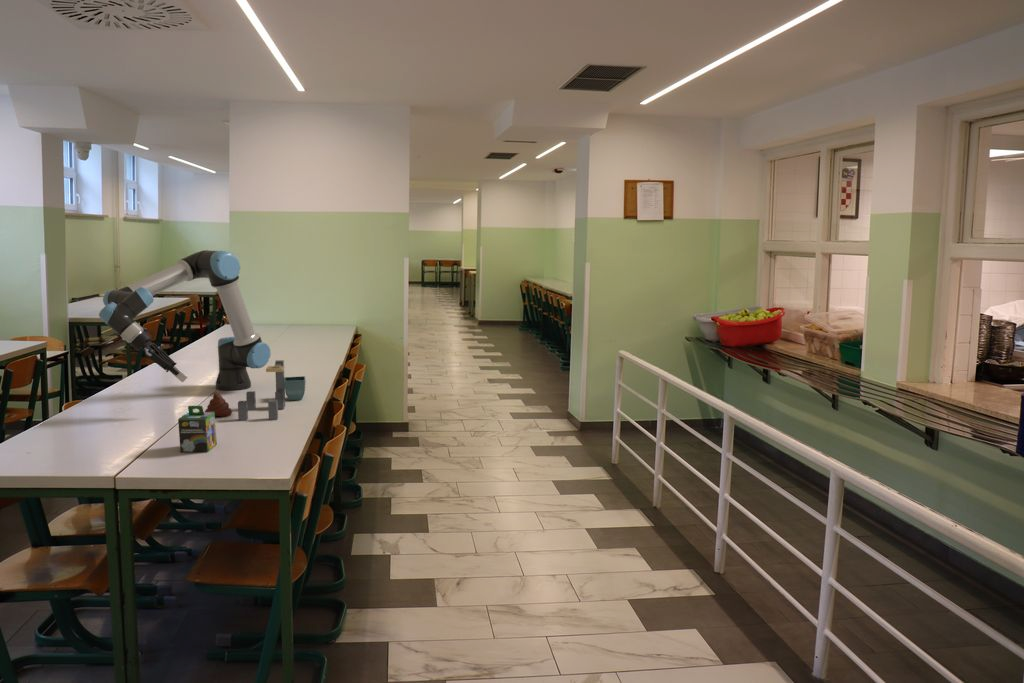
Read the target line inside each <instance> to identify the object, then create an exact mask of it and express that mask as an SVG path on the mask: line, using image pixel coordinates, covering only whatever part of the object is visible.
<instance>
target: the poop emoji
mask: <svg viewBox="0 0 1024 683" xmlns="http://www.w3.org/2000/svg"><path fill="white" fill-rule="evenodd" d="M232 411H233V410H232V409H231V408H230V405H229V402H227V401H226V399H224V397H223V396H222V395H221V394H220V393H218V392H215V391H214V392H213V397H212V398H211V399H210V400H209V404H208V405H207V408H206V409H205V410H204V412H215V418H217V417H219V418H227V417H230V416H231V415H232V413H233V412H232Z"/></svg>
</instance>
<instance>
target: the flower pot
mask: <svg viewBox="0 0 1024 683" xmlns="http://www.w3.org/2000/svg"><path fill="white" fill-rule="evenodd" d="M284 379H285V396H286V397H287V398H288V400H289V401H302V400H303V398H304V396H305V391H306V382H307V379H306V376H301V375H300V376H284Z"/></svg>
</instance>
